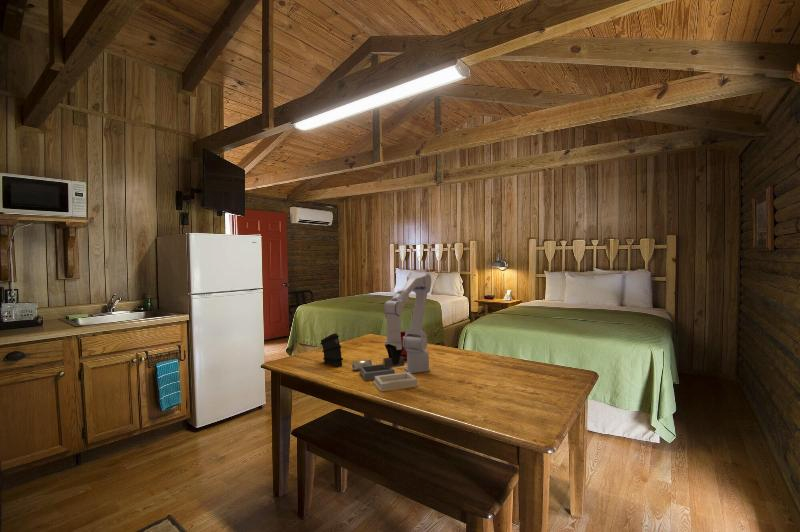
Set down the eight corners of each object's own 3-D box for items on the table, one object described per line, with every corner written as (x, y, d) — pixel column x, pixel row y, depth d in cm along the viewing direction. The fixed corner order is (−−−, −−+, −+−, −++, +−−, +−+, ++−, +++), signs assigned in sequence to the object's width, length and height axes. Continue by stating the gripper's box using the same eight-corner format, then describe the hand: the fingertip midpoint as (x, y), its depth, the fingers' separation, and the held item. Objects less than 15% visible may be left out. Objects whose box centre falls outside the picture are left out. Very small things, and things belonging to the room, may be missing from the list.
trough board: (409, 378, 164) (409, 371, 164) (418, 386, 154) (418, 379, 154) (373, 383, 159) (373, 376, 158) (380, 391, 149) (379, 384, 149)
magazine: (340, 365, 178) (331, 334, 181) (326, 371, 186) (317, 341, 190) (346, 363, 180) (338, 332, 184) (332, 369, 189) (324, 340, 193)
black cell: (401, 364, 161) (401, 354, 160) (404, 367, 157) (404, 358, 157) (381, 366, 158) (381, 357, 158) (384, 370, 154) (384, 360, 154)
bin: (387, 369, 175) (387, 363, 175) (394, 376, 166) (394, 369, 166) (359, 373, 171) (359, 366, 171) (365, 380, 161) (364, 373, 161)
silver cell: (369, 361, 181) (370, 358, 178) (370, 369, 178) (372, 366, 175) (351, 363, 178) (352, 360, 175) (352, 372, 176) (353, 368, 173)
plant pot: (391, 353, 202) (390, 330, 201) (416, 354, 200) (416, 331, 199) (387, 361, 189) (386, 336, 188) (413, 361, 187) (413, 337, 186)
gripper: (379, 327, 163) (379, 359, 163) (389, 334, 149) (389, 369, 149) (395, 325, 165) (395, 357, 165) (406, 333, 151) (407, 367, 152)
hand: (394, 362), depth 158 cm, fingers closed on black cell, 4 cm apart
